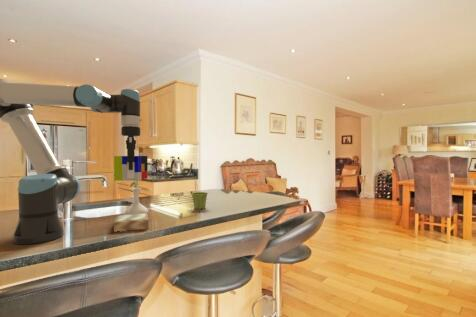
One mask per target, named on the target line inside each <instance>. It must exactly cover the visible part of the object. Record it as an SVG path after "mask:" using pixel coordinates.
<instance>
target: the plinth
mask: <svg viewBox="0 0 476 317" xmlns="http://www.w3.org/2000/svg"><path fill="white" fill-rule="evenodd" d="M148 214H149V212H148V213H146V214H133V215H126V214H124V215H123V214H122V215H116V217H115V219H114V222H113V232H114V233H118V232H117V231H120V232H128V231H127V230H130V231H139V230H140V229H141V230H148V229H149V215H148ZM141 230H140V231H141Z"/></svg>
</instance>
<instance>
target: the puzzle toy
mask: <svg viewBox="0 0 476 317" xmlns="http://www.w3.org/2000/svg"><path fill="white" fill-rule="evenodd" d="M125 160H127V155H114V156H113V170H114V171H113V172H114V174H113V176H114V181H123V182H124V181H127V182H128V181H130V182H131V181H132V182H134V181H135V182H136V181H138V182H139V181H142V180H147V179H148V178H149V176H148V174H149V173H148V168H149V167H148V165H149V164H148V163H149V162H148V155H135V156H134V178H127V162H125Z"/></svg>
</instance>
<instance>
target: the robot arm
mask: <svg viewBox="0 0 476 317" xmlns="http://www.w3.org/2000/svg"><path fill="white" fill-rule="evenodd" d="M35 105H36V106H39V105H40V106H60V107H81V108H90V109H91V111H92V112H93V113H101V114H103V113H118V114H120V125H121V128H120V129H121V130H120V131H121V134H120V135H122V136H123V137H124V136H125V137H127V138H126V140H125V144H126V150H127V151H126V156H127V160H125V162H127V178H134V156H136V155H135V153H136V152H135V150H136V145H137V141H136V139H135V137H140V136H141V128H140V126H141V122H142V121H143V120H142V118H141V96H140V92H139V91H138V90H136V89H132V88H124V89H121V90H120V94H108V93H106V92H105V91H103V90H101V89H99V88H98V87H96V86H94V85H91V84H87V83H86V84H82V85H80V86H78V85H60V84H59V85H58V84H42V83H41V84H40V83H24V82H20V83H19V82H9V81H8V80H6V79H2V78H1V79H0V120H1V121H2V122H4V123H7V124H8V125H9V127H10V128H11V130H12V132H13V134H14V135H15V137H16V139H17V141H18V143H19V144H20V147H21V148H22V149H23V151H24V153H25V155H26V157H27V158H28V161H29V162H30V164H31V166H32V167H33V169H34V171H35V173H36V174H31V175H30V174H29V175H26V176H24V177H21V178H20V179H19V180H18V187H17V192H18V197H17V198H18V221H17V224H16V227H15V229H14V232H13V235H12V243H13V244H16V245H31V244H40V243H46V242H50V241H54V240H57V239H59V238H62V237H63V236H64V231H65V230H64V227H63V224H62V222H61V219H60V217H59V215H58V214H59V213H58V211H59V208H58V207H59V205H61V204H66V203H68V202H71V201H72V200H74V199H75V198H76V197H78V195H79V193H80V191H81V184H80V180H79V178H78V177H76V176H75V175H72V174H70V173H69V170H68V169H67V167H66V166H63V165H60V163H59V161H58V159H57V157H56V156H55V154H54V152H53V151H52V148H51V147H50V145H49V143H48V142H47V140H46V138H45V136H44V135H43V132H42V131H41V129H40V127H39V125H38V123H37V122H36V120H35V119H34V117H33V116H34V114H35V110H34V106H35Z"/></svg>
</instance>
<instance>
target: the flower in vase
mask: <svg viewBox="0 0 476 317" xmlns="http://www.w3.org/2000/svg"><path fill="white" fill-rule="evenodd" d="M139 185H140V183H139V180H138V181H132V182H131V183H130V184H129V187H131V188H130V189H131V191H132V193H133V203H132V204H131V205H130V206H129V207H127V208H126V209H125V211H124V215H133V214H146V213H148V214H149V209H148V208H147V207H146V206H144V205H143V204H142V203H140V199H139V198H140V193H141V190H142V187H137V186H139ZM133 186H135V187H133Z"/></svg>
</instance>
